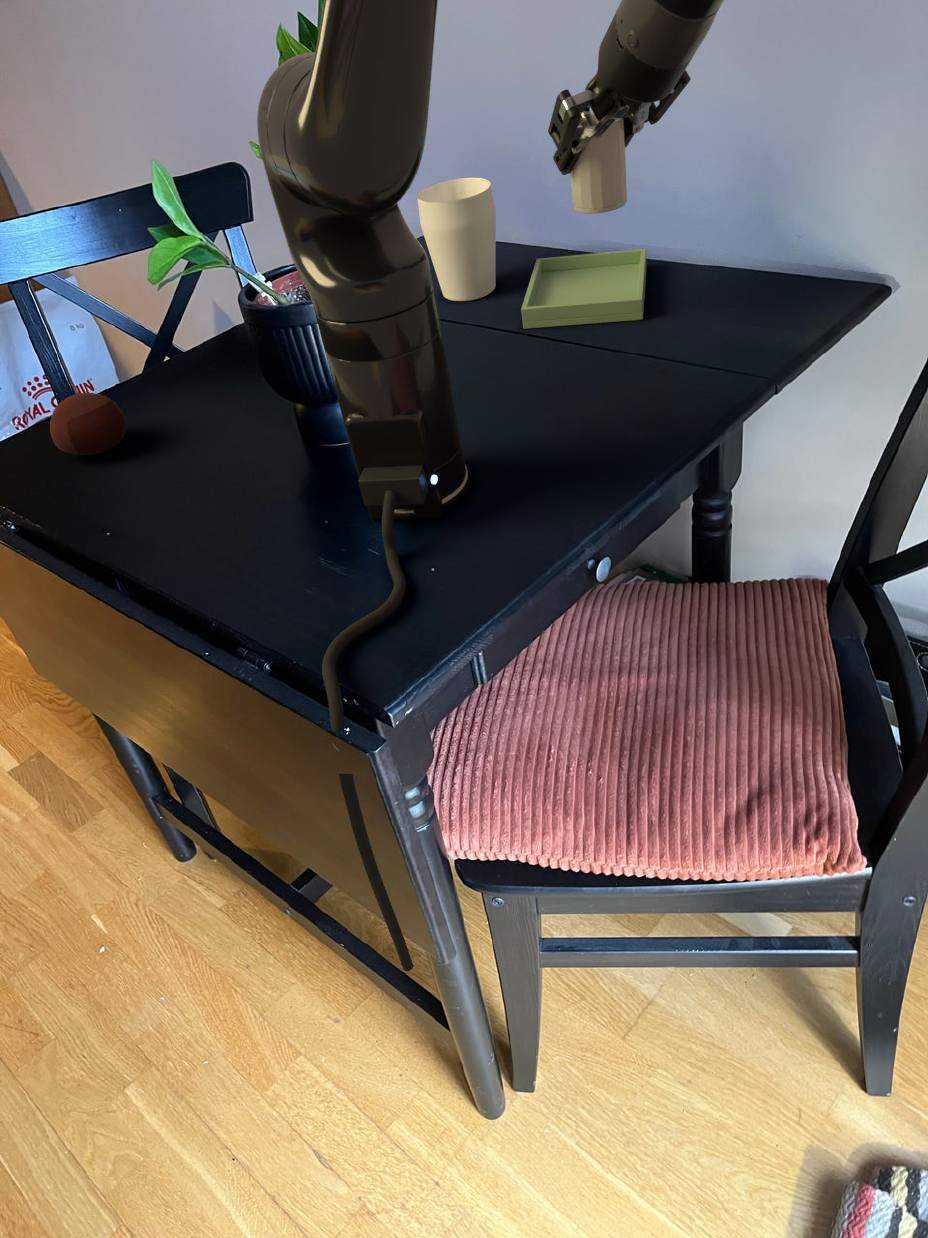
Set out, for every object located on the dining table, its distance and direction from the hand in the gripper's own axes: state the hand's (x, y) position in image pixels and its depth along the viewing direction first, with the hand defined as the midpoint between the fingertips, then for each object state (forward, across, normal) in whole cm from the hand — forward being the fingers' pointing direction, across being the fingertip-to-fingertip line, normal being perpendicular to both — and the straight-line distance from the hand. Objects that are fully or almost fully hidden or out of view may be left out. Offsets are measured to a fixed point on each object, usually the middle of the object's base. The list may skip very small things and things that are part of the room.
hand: (586, 157), depth 93 cm
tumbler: (+2, 0, +4) cm, 5 cm away
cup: (+24, +6, -1) cm, 25 cm away
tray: (+15, -2, +8) cm, 17 cm away
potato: (+20, +55, +3) cm, 59 cm away
